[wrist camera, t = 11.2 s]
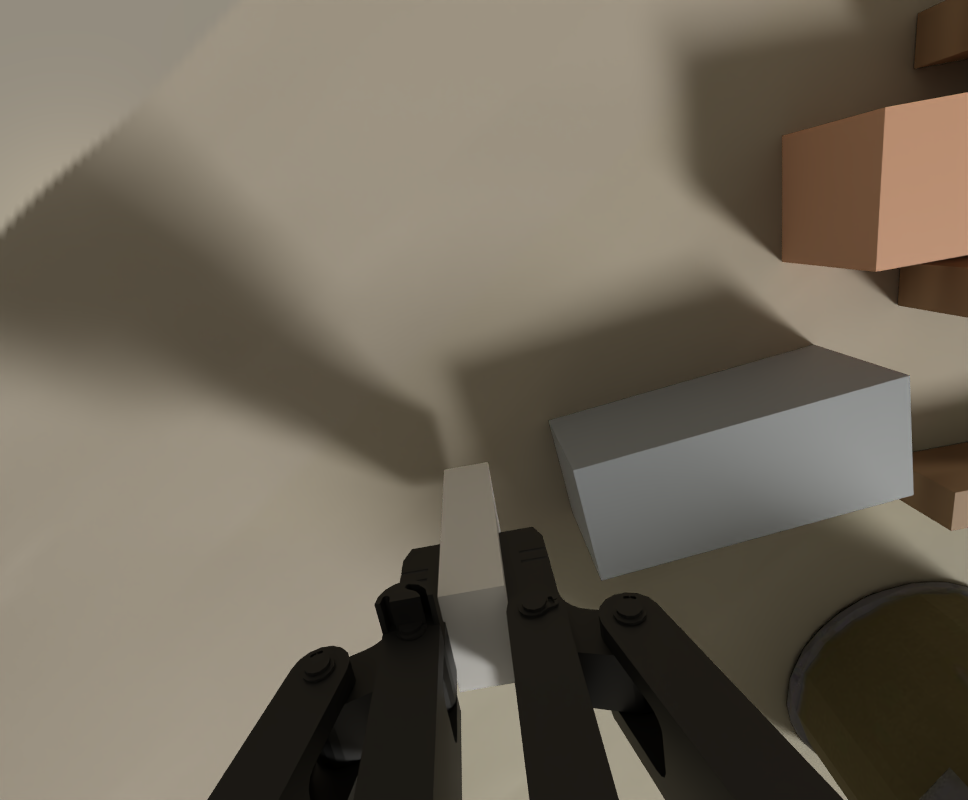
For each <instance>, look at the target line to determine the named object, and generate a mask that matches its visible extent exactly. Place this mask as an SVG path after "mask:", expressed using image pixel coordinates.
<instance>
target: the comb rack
mask: <svg viewBox="0 0 968 800" xmlns="http://www.w3.org/2000/svg"><path fill="white" fill-rule="evenodd" d="M965 59H968V0H946V1H944V2H942V3H939V4H937V5H935V6H933V7H931V8H929V9H926V10H924V11H922V12H920V13H918V18H917V33H916V47H915V62H914V69H916V68H921V67H927V66H932V65H938V64H943V63H949V62H954V61H960V60H965ZM898 305H899V306H905V307H910V308H916V309H922V310H928V311H933V312H939V313H945V314H951V315H956V316H962V317H968V255H965V256H959V257H954V258H948V259H943V260H938V261H932V262H927V263H921V264H916V265H910V266H905V267H900V279H899V294H898ZM912 460H913V491H914V495H912V496H908V497H905V498H901V499H900V500H901V501H903V502H904V503H906V504H908V505H909V506H911V507H913V508H914V509H916V510H918V511H919V512H921V513H923V514H924V515H926V516H928V517H929V518H931V519H932V520H934V521H936V522H937V523H939V524H941V525H942V526H944V527H946V528H947V529H949V530H951V531H953V530H958V529H964V528H968V442H966V443H960V444H955V445H949V446H944V447H938V448H933V449H927V450H922V451H916V452H912Z"/></svg>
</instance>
